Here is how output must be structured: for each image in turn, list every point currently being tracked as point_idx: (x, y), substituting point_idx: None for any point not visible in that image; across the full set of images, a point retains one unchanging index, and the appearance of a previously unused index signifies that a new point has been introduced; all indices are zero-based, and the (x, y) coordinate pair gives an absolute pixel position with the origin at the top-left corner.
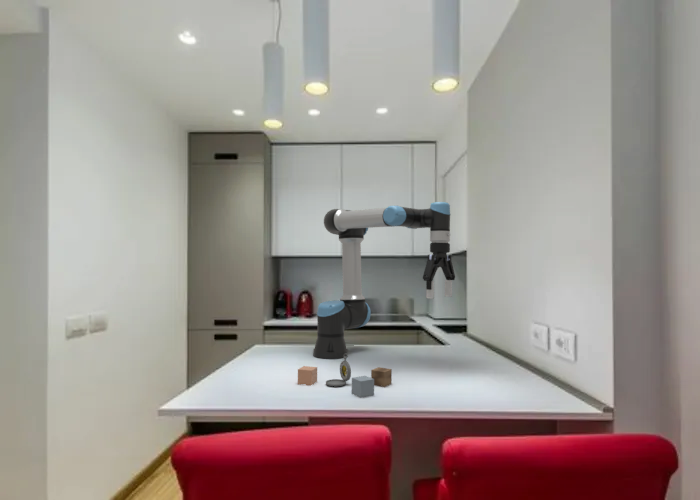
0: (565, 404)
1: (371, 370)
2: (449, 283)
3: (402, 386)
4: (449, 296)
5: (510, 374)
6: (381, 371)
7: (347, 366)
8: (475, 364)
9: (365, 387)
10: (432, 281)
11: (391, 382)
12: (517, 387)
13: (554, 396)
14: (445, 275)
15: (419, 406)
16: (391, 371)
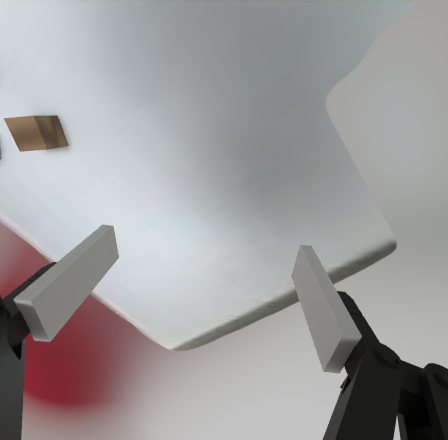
0: (167, 330)
1: (5, 118)
2: (317, 337)
3: (73, 169)
4: (293, 270)
5: (263, 270)
6: (17, 143)
7: None
8: (308, 207)
9: None
10: (35, 336)
11: (66, 145)
12: (196, 290)
13: (188, 321)
14: (349, 393)
15: (30, 230)
16: (50, 148)
